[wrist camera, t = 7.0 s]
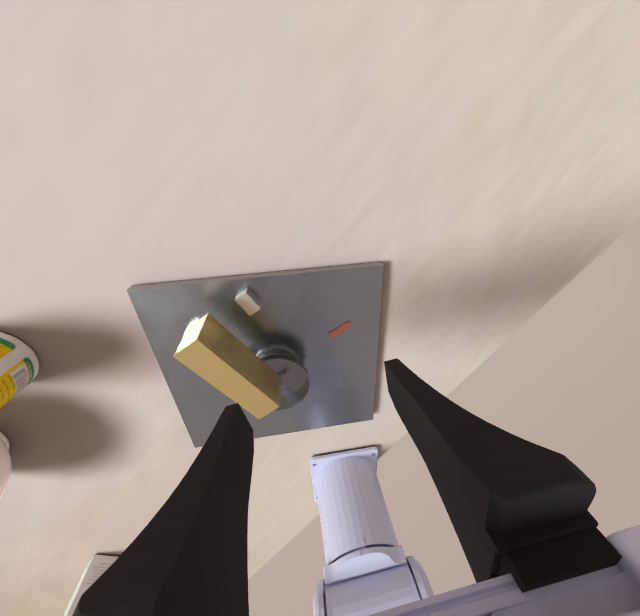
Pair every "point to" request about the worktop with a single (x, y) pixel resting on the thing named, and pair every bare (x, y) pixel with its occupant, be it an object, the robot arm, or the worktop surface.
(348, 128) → the worktop surface
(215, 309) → the base plate
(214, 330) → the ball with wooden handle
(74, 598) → the skincare box
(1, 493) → the lidded jar
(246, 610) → the robot arm
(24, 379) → the supplement bottle
